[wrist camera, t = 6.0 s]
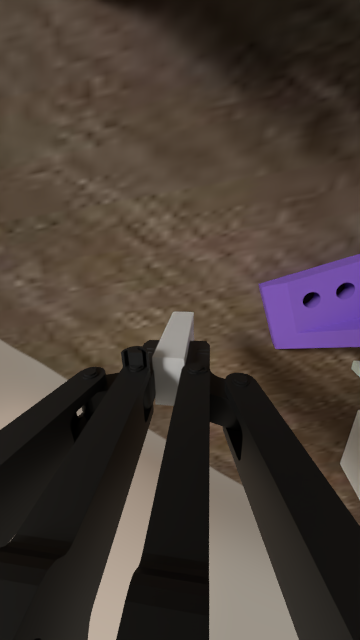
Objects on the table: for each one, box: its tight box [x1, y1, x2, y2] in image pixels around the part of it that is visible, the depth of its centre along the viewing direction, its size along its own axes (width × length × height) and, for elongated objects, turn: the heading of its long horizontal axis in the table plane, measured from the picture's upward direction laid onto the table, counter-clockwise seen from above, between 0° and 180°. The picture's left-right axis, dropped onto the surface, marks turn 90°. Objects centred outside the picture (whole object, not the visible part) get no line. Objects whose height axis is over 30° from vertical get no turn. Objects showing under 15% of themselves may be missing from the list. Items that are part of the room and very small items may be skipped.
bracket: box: [259, 254, 360, 349], centre depth 19 cm, size 12×7×7 cm, turn 109°
